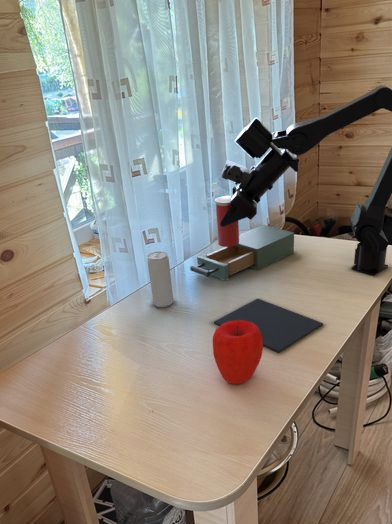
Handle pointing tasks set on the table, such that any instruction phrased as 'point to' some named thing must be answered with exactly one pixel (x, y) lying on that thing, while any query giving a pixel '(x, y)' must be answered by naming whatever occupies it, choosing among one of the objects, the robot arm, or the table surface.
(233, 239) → the tea tin
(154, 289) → the beverage can
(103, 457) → the table surface
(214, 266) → the drawer
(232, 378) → the apple
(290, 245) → the cabinet
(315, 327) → the mat
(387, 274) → the table surface
